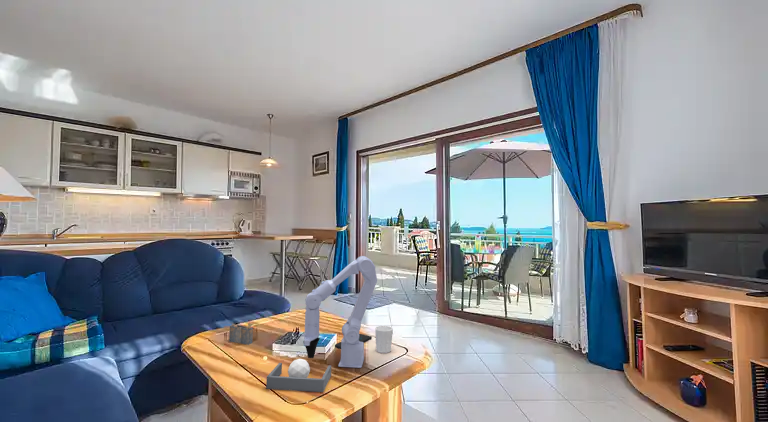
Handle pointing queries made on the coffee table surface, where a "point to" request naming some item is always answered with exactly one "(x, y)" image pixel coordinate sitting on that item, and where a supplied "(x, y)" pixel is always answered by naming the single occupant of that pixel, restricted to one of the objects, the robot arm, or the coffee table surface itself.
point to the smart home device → (361, 338)
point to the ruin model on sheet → (241, 334)
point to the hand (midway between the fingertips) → (311, 357)
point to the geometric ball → (299, 369)
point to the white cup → (383, 339)
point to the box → (296, 381)
